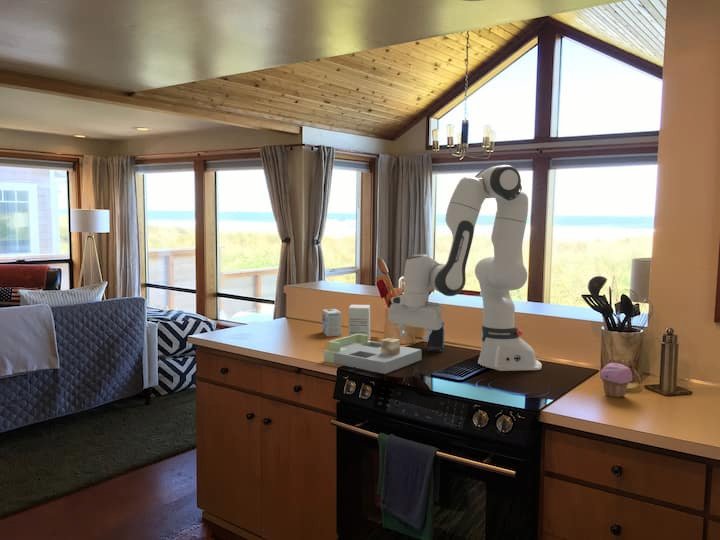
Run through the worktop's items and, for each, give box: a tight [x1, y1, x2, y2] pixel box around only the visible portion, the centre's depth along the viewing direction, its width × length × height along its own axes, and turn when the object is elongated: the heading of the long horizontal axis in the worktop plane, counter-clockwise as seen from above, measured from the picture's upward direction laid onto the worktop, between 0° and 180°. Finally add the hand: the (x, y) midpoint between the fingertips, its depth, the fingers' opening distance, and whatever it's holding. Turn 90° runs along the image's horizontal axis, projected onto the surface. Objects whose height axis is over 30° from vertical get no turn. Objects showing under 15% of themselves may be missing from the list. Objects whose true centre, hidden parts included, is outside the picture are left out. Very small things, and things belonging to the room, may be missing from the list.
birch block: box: [380, 337, 401, 356], centre depth 210 cm, size 5×5×5 cm
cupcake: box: [599, 362, 633, 398], centre depth 174 cm, size 9×9×10 cm
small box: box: [426, 321, 446, 353], centre depth 234 cm, size 11×6×10 cm, turn 168°
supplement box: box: [348, 304, 371, 341], centre depth 250 cm, size 9×9×15 cm
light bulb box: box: [321, 308, 343, 337], centre depth 263 cm, size 11×7×11 cm, turn 17°
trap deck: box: [323, 334, 422, 375], centre depth 215 cm, size 28×24×7 cm
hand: (414, 338), depth 202 cm, fingers open, 8 cm apart
